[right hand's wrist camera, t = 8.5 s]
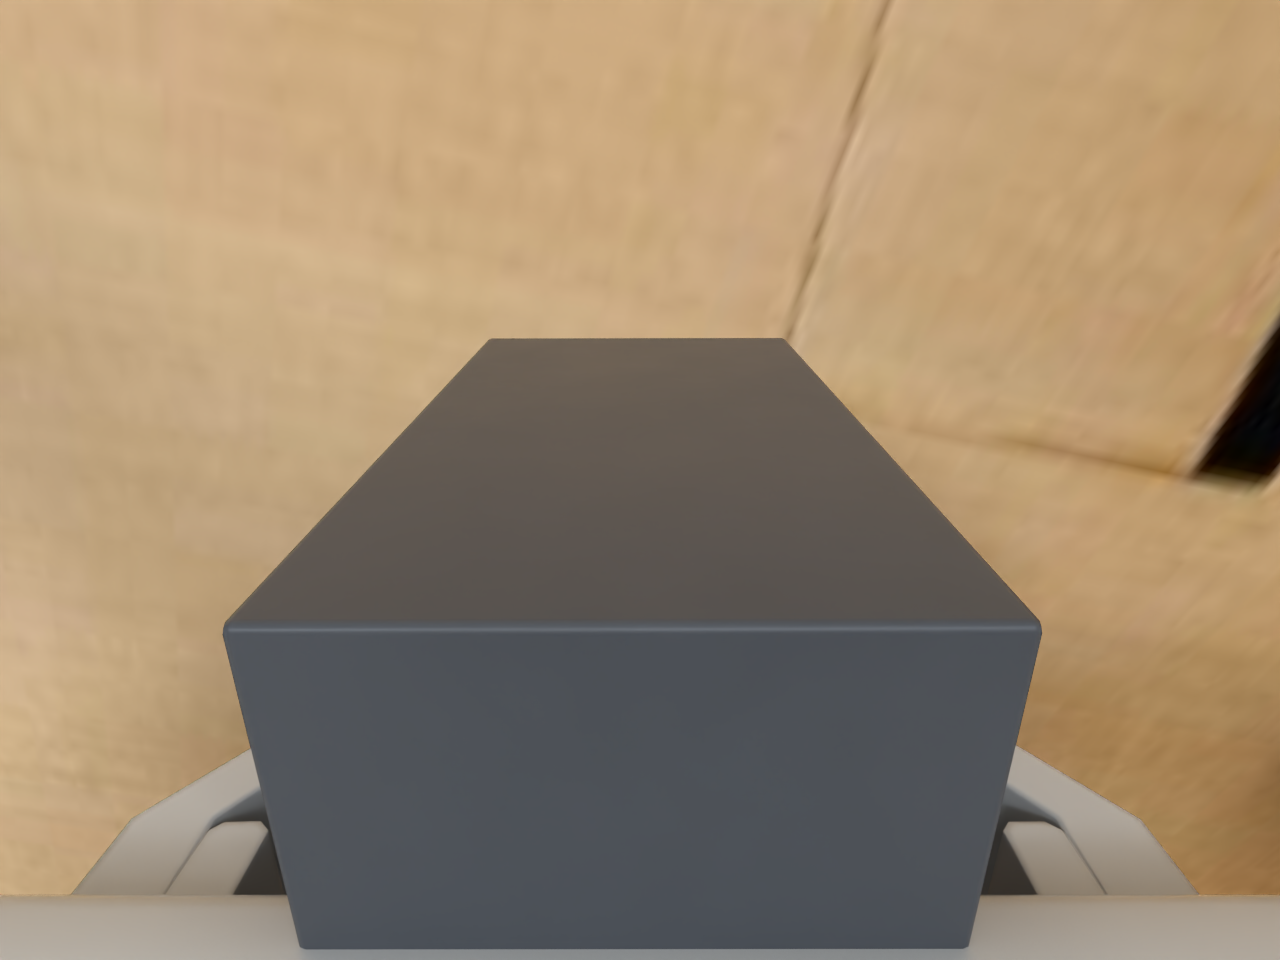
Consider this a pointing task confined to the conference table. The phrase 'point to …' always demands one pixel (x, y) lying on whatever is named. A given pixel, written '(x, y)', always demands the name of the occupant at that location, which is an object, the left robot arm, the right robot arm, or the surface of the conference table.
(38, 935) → the right robot arm
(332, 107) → the conference table surface
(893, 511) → the bar
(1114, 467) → the conference table surface
